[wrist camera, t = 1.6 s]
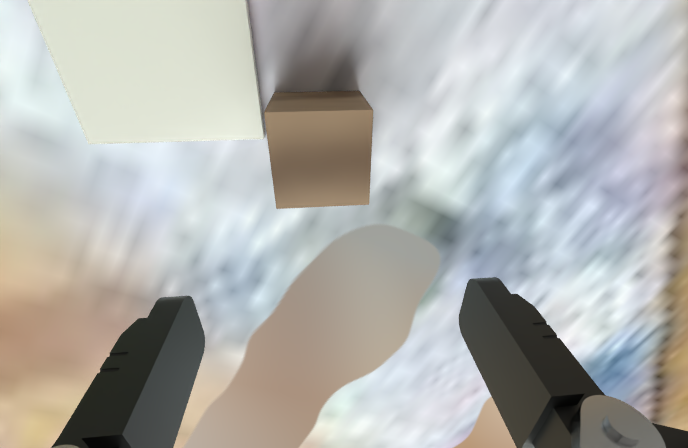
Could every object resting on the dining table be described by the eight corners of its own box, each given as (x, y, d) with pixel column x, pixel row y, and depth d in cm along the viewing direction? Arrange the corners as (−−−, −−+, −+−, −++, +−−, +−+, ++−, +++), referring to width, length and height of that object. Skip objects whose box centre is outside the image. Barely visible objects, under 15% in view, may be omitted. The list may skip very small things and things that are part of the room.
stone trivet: (1, -86, 17) (-12, -91, 16) (236, -81, 18) (233, -86, 17) (95, 140, 23) (88, 144, 23) (265, 135, 24) (263, 139, 24)
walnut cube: (274, 92, 23) (264, 112, 18) (359, 90, 23) (373, 109, 18) (282, 172, 26) (276, 208, 21) (357, 169, 26) (369, 204, 21)
